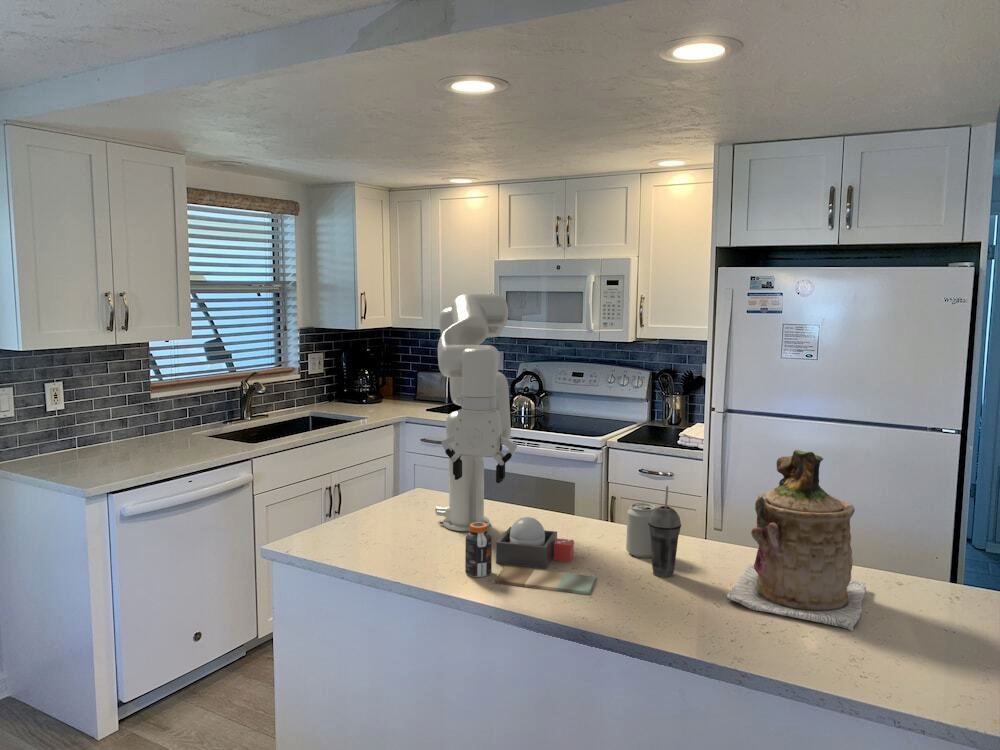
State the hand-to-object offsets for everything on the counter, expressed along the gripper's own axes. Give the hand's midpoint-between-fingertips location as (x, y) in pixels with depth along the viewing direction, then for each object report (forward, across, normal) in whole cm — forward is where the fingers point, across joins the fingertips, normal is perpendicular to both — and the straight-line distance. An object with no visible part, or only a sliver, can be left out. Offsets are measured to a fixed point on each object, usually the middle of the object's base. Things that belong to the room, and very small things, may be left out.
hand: (478, 480), depth 164 cm
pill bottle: (+22, 0, 0) cm, 22 cm away
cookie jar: (+22, +68, +8) cm, 72 cm away
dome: (+20, +8, +13) cm, 25 cm away
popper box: (+21, +10, +13) cm, 27 cm away
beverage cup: (+22, +40, +12) cm, 47 cm away
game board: (+22, +15, 0) cm, 26 cm away
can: (+22, +34, +24) cm, 47 cm away
